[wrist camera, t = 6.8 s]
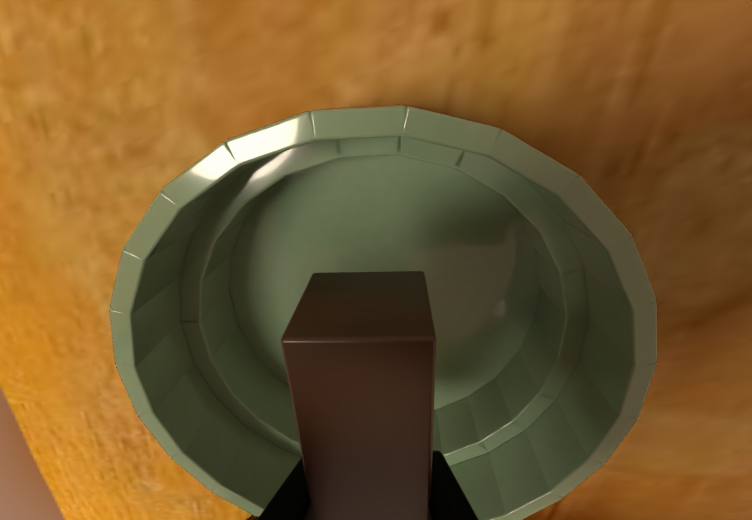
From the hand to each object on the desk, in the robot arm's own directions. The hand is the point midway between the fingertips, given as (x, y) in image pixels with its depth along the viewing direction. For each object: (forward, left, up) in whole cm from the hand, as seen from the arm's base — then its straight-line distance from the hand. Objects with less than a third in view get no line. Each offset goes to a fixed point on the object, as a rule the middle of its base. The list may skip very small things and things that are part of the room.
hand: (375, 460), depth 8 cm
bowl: (0, 0, -8) cm, 8 cm away
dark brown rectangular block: (0, 0, -1) cm, 1 cm away
